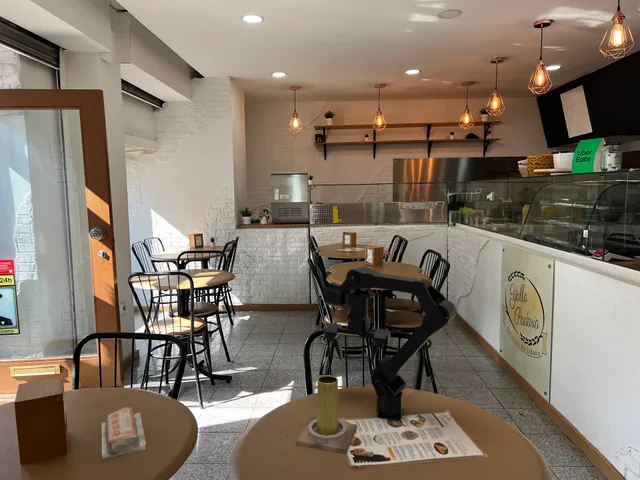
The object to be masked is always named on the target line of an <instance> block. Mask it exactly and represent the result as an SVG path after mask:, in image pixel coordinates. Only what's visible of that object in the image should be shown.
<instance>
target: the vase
mask: <svg viewBox="0 0 640 480" xmlns="http://www.w3.org/2000/svg"><path fill="white" fill-rule="evenodd" d="M338 381H339V379H338V378H337V376H334V375H327V374H326V375H321V376H319V377H317V381H316V382H317V387H316V388H317V391H316V392H317V393H316V397H317V398H316V418H317V428H316V433H317V434H319V435H325V436H330V435H336V434H338V433H339V419H340V418H339V399H338V398H339V397H338V395H339V393H338V392H339V391H338V389H339V382H338Z"/></svg>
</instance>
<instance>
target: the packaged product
mask: <svg viewBox="0 0 640 480" xmlns="http://www.w3.org/2000/svg"><path fill="white" fill-rule="evenodd" d="M133 409H134V408H133V407H128V406H127V407H122V408H120V409H118V410H116V411H113V412H111V413H109V414H107V416H105V422H101V460H102V461H106V460H109V459H113V458H114V459H115V458H117V457H122V456H126V455H130V454H134V453H137V452H138V453H139V452H141V451H145V450H146V447H147V442H146V436H145V431H144V426H143V421H142V415H141V412H137V413H134V410H133Z"/></svg>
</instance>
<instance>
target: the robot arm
mask: <svg viewBox="0 0 640 480" xmlns="http://www.w3.org/2000/svg"><path fill="white" fill-rule="evenodd" d="M372 289H381V290H386V291H387V290H388V291H394V292H398V293H399V292H401V293H407V294H413V295H414V297H416V299H417V301H418V303H419V306H420V308H421V309H422V311H423V312H424V313H425V314H424V316H423V318H422V320H421V322H420V325H419V326H418V327H417V329H416V330H415V331H414V332H413V333H412V335H411V336H410V337H409V338H408V339H407V340H406V341H405V343H404V344H403V345H401V347H400V348H399V349H398V350H397V351H396V353H395V354H393V356H392V357H391V356H390V355H389V354H387V355H385V357H383V358H382V359H380V361H378V363H377V365H376V366H375V367H374V368H373V369H371V370H370V371H371V372H372V373H371V374H370V382H371V384H372V386H373V388H374V391H375V396H376V397H377V398H376V413H377V418H379V419H385V420H392V421H398V422H399V421H401V420H402V417H403V412H404V408H403V391H404V390H405V388H406V387H407V382H406V381H405V380H404V379H403V377H402V376H401V374H402V372H403V370H404V367H405V365H406V364H407V363H408V362H409V361H410V360H411V359H412V358H413V356H414V355H415V354H416V353H418V351H419V350H420V349H421V348H422V347H423V345H425V344H426V342H427V341H428V340H429V339H430V338H431V337H432V336H433V335H434V334H435V333H437V332H438V331H439V330H441V329H442V328H444V327H446V325H447V324H448V323H450V322H451V321H452V320H454V319H455V318H456V315H457V308H456V306H455V304H454V303H453V302H452V301H451V300H448V299H447V298H446V297H445V296H444V294H443V293H441V292H440V291H439V290H438V289H437V288H436V287H434V286H433V284H432V283H430V281H429V280H428V279H426V278H424V277H423V278H417V277H409V276H403V275H402V276H401V275H394V274H389V273H382V272H379V271H377V270H375V269H374V268H370V267H367V266H360V267H355V268H352V269H349V270H348V272H347V273H346V275H345V279H344V281H343V282H342V283H336V282H333V281H331V282H328V283H327V287H326V288H325V291H324V294H323V302H324V304H325V305H328V306H332V307H337V308H346V306H347V305H348V306H347V315H346V322H347V328H343V327H342V324H340V323H331V322H330V323H329V324H328V325H327V326H326V327H324V331H323V338H327V339H328V341H330V342H331V343H332V346H333V348H334V349H335V351H336V354H337V356H338V359H339V360H340V361H342V360H343V336H348V337H355V338H356V337H357V338H365V339H372V340H373V343H372V346H371V355H370V365H373V363H374V360H375V357H376V354H377V352H378V350H379V349H380V348H383V347H384V346H387V345H389V343H390V340H391V331H390V330H389V329H383V328H376V329H375V331H369V329H370V325H371V324H370V323H371V316H368V315H369V312H368V311H369V299H372V298H374V297H375V296H376V293H375V292H374V291H373V290H372Z"/></svg>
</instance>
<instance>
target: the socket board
mask: <svg viewBox="0 0 640 480" xmlns="http://www.w3.org/2000/svg"><path fill="white" fill-rule="evenodd" d="M316 428H317V417H310V418H308V421H307V423H306V425H304V427H303V429H302V430H301V432H300V433H299V435H298V437H296V440H295V445H296V446H301V447H308V448H313V449H318V450H323V451H330V452H334V453H339V454H340V453H341V454H347V453H348V451H349V448H350V446H351V443H352V441H353V438H354V436H355V433H356V431H357V429H358V424H357V423H356V424H355V423H350V422H345V421H343V420H341V418H339V433H338V434H336V435H330V436H325V435H319V434H317V433H316Z"/></svg>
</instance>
